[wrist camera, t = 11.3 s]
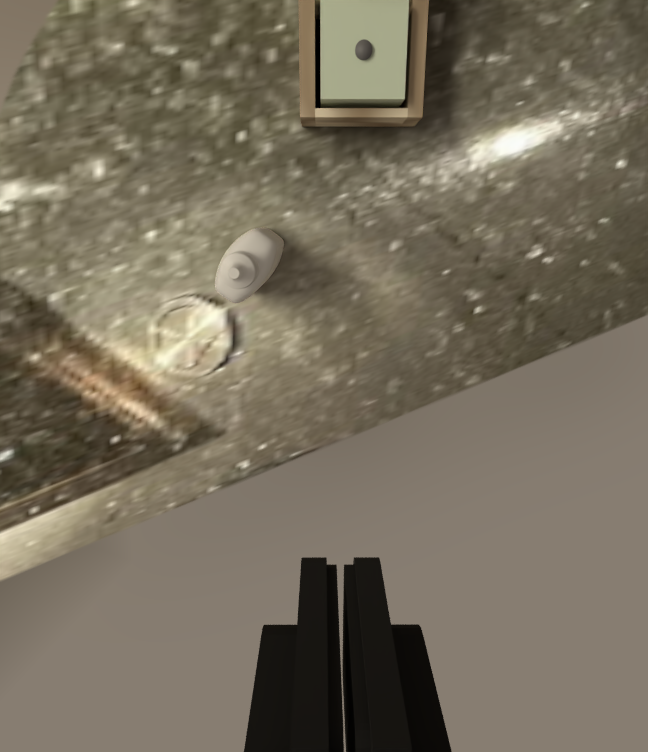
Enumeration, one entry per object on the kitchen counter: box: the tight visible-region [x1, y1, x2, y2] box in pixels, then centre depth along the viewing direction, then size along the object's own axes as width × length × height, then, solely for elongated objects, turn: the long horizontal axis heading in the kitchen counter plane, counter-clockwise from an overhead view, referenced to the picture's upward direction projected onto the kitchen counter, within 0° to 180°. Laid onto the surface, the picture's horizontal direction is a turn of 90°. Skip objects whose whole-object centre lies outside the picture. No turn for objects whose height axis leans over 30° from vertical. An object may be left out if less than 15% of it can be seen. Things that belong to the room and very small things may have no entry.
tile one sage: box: [320, 0, 409, 108], centre depth 36 cm, size 6×6×4 cm
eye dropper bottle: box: [215, 227, 284, 303], centre depth 37 cm, size 4×6×12 cm
